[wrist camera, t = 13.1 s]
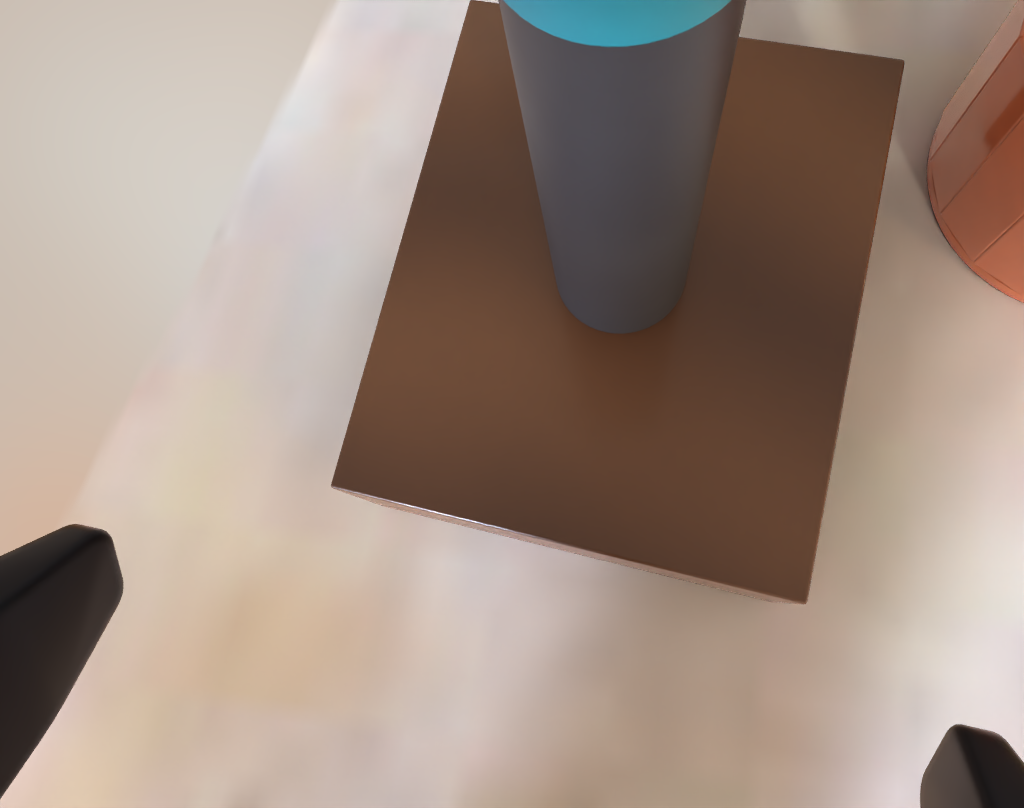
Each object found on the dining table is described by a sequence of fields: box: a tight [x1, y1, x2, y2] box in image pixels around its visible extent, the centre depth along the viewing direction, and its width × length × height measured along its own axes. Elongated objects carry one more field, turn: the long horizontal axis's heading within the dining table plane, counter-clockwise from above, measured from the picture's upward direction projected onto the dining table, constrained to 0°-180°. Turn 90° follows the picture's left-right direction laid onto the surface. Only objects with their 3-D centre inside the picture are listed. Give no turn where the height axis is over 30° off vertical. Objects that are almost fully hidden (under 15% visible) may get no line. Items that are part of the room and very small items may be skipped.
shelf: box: [331, 0, 904, 604], centre depth 20 cm, size 12×10×4 cm
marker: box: [499, 0, 746, 334], centre depth 12 cm, size 3×3×13 cm
